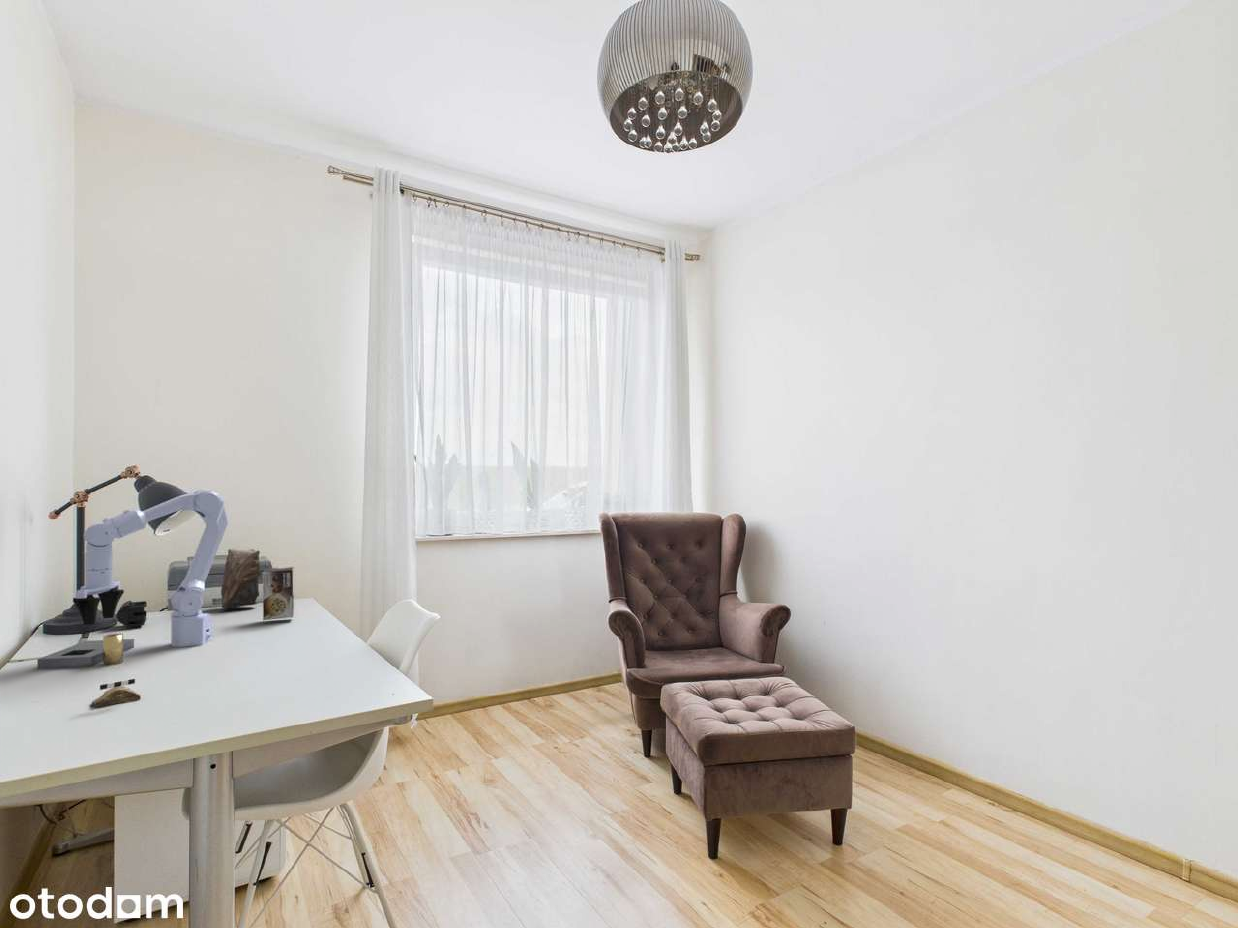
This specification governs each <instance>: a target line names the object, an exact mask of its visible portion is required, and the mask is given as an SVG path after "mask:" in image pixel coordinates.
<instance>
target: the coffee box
mask: <svg viewBox="0 0 1238 928" xmlns="http://www.w3.org/2000/svg"><path fill="white" fill-rule="evenodd" d="M294 568H295V567H294V566H291V567H290V566H289V567H276V568H275V567H274V568H273V567H272V568H264V570H263V571H262V599H263V601H262V605H263V606H262V610H263V611H262V613H263V614H262V615H263V619H262V620H263V621H268V620H278V619H289V618H290V619H291V618H294V617H295V584H294V582H295V577H294V573H295V570H294Z"/></svg>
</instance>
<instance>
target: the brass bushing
mask: <svg viewBox="0 0 1238 928" xmlns="http://www.w3.org/2000/svg"><path fill="white" fill-rule="evenodd" d="M123 639H124V634H123V633H111V634H106V635H104V636H102V640H103V662H102V665H103V666H104V667H105V666H116V665H120V664H123V662H124V652H123Z"/></svg>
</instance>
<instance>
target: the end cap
mask: <svg viewBox="0 0 1238 928" xmlns="http://www.w3.org/2000/svg"><path fill="white" fill-rule="evenodd" d="M145 608H147V601H145V600H143V601H133V602H132V600H128V601H125V602H124V603H123V604H121V606H120V608H119V609H118V610H117V612H116V615H115V617H116V620H117V622H118V623H119V624H121V625H123V626H125V627H128V628H129V627H137V626H138V627H139V626H144V625H145V623H146V622H147V610H145Z"/></svg>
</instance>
